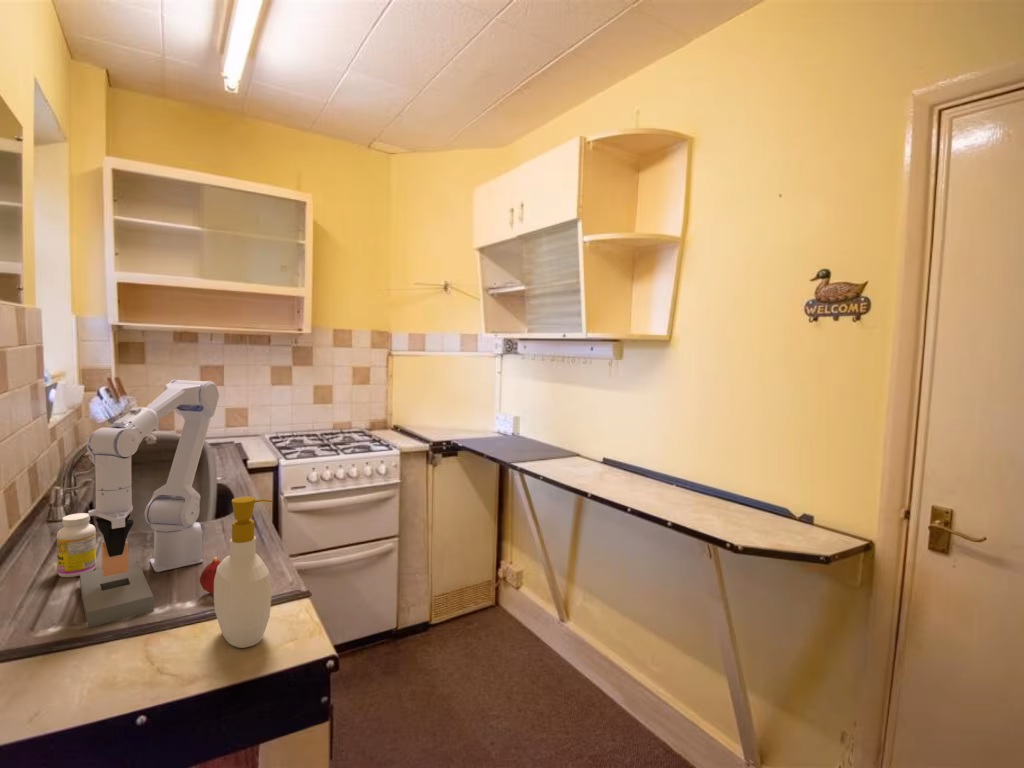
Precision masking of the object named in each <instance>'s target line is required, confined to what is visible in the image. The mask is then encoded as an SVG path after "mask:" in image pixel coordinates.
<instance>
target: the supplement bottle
mask: <svg viewBox="0 0 1024 768" xmlns="http://www.w3.org/2000/svg"><path fill="white" fill-rule="evenodd" d="M61 520H62V521H61V522H62V525H63V527H62V528H61V529H59V530H58V531H57V533H56V554H57V555H56V559H57V560H56V562H57V564H56V565H57V575H58V576H59V577H61V578H75V577H80V573H83V572H88V571H93V570H96V567H97V547H96V545H97V543H96V542H97V539H96V538H97V537H96V535H97V534H96V526H94V525H93V524H91V523H90V520H91V516H89V515H88V512H87V513H86V512H77V513H73V514H72V513H71V514H68V515H65V516H63V517H62V519H61Z"/></svg>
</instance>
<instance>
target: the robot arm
mask: <svg viewBox="0 0 1024 768" xmlns="http://www.w3.org/2000/svg"><path fill="white" fill-rule="evenodd" d="M219 398H220V394H219V390H218V387H217V385H216V383H215V382H214V381H211V380H206V381H203V380H187V379H186V380H184V379H178V378H176V379H172V380H170V381H169V382H168V383H166V384H165V385H164V389H163V392H161V394H160V395H158V396H157V397H156V398H154V400H152V401H151V402H150V403H149V404H148V405H146V406H145V407H143V406H138V407H132V408H131V409H129V412H128V413H127V414H125V415H124V416H123V417H121V418H120V419H117V420H115V421H114V422H112V424H110V426H108V427H100V428H98V429H96V430H94V431H93V432H92V433H91V434H90V435H89V438H88V441H87V443H85V444H86V445H85V446H86V450H87V452H88V454H89V455H90V456H91V463H92V464H93V465H94V466H95V468H94V469H95V471H94V472H95V473H94V474H95V509H90V510H88V512H87V513H88V515H89V516H90V517H95V518H94V519H95V522H96V525H97V528H98V530H99V532H101V534H102V537H103V542H106V547H107V552H108V555H109V557H112V556H117V555H122V553H123V550H124V546H125V542H126V539H127V538H128V535H129V532H130V530H131V529H132V527H133V525H134V522H135V520H134V519H129V518H130V516H131V513H132V511H133V510H134V506H133V502H132V500H133V499H132V497H133V496H132V495H133V494H132V493H133V490H132V456H133V455H134V454H135V453H136V452H137V451H138V449H139V446H140V444H141V443H142V441H143V439H144V438H145V437H146V436H148V435H149V434H150V433H152V432H153V431H154V430H155V429H157V428H158V426H159V424H160V421H159V419H161V418H162V417H164V416H166V415H167V414H169V413H171V412H172V411H173V410H174V411H175V412H176V413H177V415H179V416H181V417H182V418H183V420H184V423H183V426H182V430H181V433H180V436H179V438H178V439H179V440H178V443H177V447H176V451H175V452H174V453H175V454H174V457H173V461H172V465H171V466H170V470H169V474H168V477H167V480H166V484H163V485H162V486H161V487H159V488H157V489H156V490H154V491H153V493H152V496H151V499H150V501H149V502H148V503H147V504H146V507H145V510H144V520H145V522H146V523H147V524H149V525H150V529H152V530H154V531H153V539H154V541H153V544H154V546H153V549H154V550H153V553H154V555H153V556H154V558H150V559H149V563H150V564H151V566H152V568H153V570H154V572H155V573H160V572H164V571H165V572H166V571H169V570H174V569H177V568H182V567H187V566H191V565H195V564H200V563H201V564H202V563H203V561H204V560H203V530H202V525H201V523H200V522H198V521H197V520H198V518H199V516H200V512H201V511H200V509H201V508H200V502H201V494H200V493H199V492H198V491H197V490H195V488H194V487H193V483H194V480H195V478H196V477H195V476H196V472H197V468H198V464H199V462H200V458H201V455H202V451H203V447H204V443H205V440H206V437H207V433H208V430H209V429H208V428H209V427H210V423H211V419H212V418H213V417H214V415H215V413H216V408H217V406H218V401H219Z"/></svg>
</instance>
